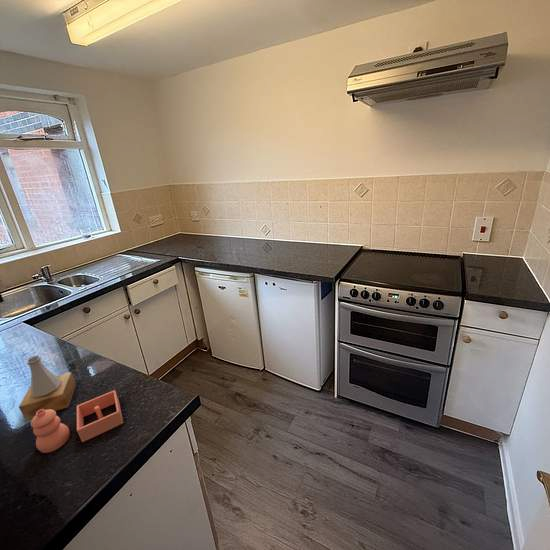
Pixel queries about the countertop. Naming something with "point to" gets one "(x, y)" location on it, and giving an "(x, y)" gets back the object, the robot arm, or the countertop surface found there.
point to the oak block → (49, 398)
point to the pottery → (57, 434)
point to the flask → (41, 378)
